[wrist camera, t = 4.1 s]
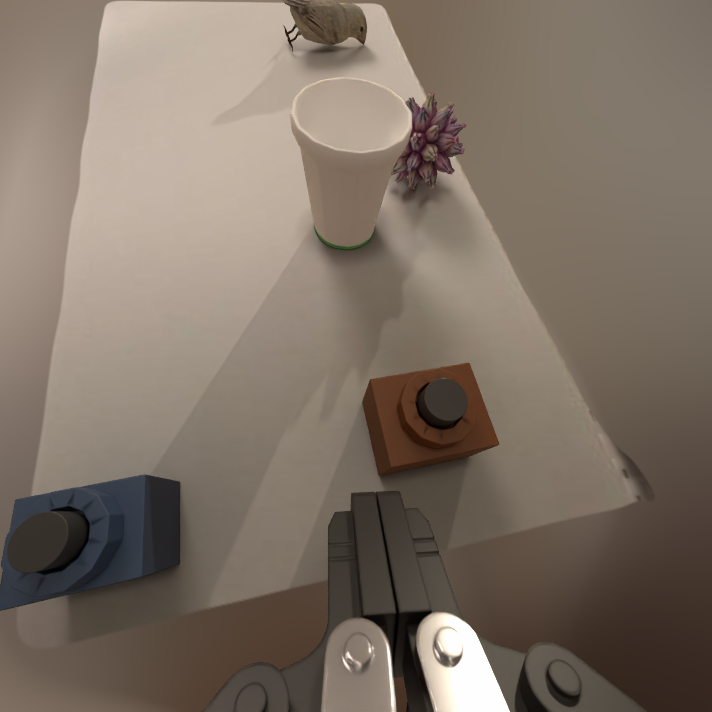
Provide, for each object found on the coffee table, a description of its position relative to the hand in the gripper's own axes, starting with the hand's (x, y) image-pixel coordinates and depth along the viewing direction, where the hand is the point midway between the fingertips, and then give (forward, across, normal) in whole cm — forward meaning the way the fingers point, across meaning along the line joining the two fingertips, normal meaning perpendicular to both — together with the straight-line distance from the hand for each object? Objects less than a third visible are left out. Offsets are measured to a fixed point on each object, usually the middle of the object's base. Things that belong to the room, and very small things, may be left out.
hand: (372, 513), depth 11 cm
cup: (+44, -1, -8) cm, 44 cm away
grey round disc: (+17, -8, +6) cm, 20 cm away
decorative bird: (+77, +1, -42) cm, 88 cm away
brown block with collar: (+23, -8, +12) cm, 27 cm away
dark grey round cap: (+11, +20, +12) cm, 25 cm away
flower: (+51, -12, -15) cm, 55 cm away
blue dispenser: (+17, +20, +18) cm, 31 cm away
